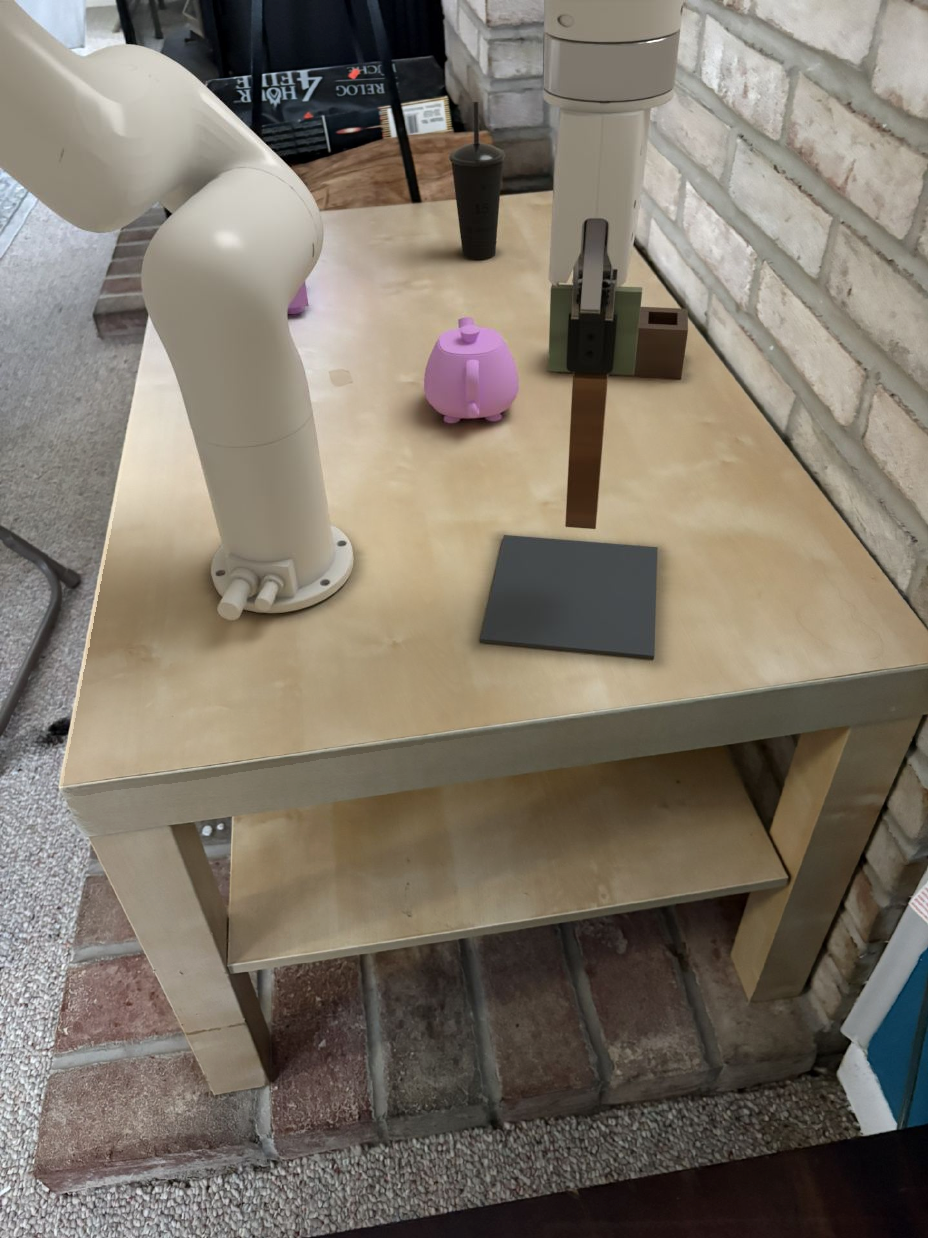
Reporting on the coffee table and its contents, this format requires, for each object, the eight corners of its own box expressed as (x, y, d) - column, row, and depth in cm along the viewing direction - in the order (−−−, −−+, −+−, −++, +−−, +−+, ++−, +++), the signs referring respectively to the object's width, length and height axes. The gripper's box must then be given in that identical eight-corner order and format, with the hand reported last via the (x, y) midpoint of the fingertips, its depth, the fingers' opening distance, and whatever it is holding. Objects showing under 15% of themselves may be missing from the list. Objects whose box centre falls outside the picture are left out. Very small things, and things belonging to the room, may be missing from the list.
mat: (653, 659, 73) (654, 655, 73) (480, 642, 75) (480, 638, 75) (656, 550, 83) (657, 546, 83) (503, 537, 85) (503, 534, 85)
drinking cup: (444, 249, 137) (437, 99, 123) (490, 240, 139) (489, 91, 125) (466, 267, 132) (461, 112, 118) (513, 257, 134) (514, 104, 120)
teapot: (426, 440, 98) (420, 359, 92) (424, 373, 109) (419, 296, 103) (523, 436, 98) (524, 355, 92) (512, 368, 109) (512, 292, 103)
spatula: (618, 531, 72) (641, 296, 60) (542, 525, 73) (549, 293, 60) (620, 513, 74) (642, 281, 61) (545, 507, 75) (553, 278, 62)
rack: (681, 379, 106) (688, 329, 102) (556, 372, 108) (558, 323, 104) (681, 356, 110) (687, 308, 106) (560, 350, 112) (563, 302, 108)
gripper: (556, 37, 58) (548, 316, 71) (527, 102, 47) (524, 418, 60) (676, 37, 57) (647, 320, 70) (676, 103, 46) (641, 425, 59)
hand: (590, 364), depth 65 cm, fingers closed on spatula, 1 cm apart
